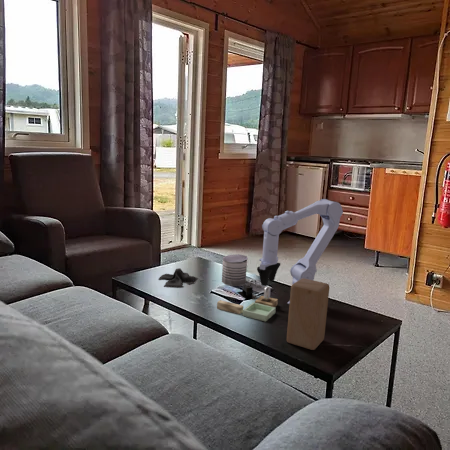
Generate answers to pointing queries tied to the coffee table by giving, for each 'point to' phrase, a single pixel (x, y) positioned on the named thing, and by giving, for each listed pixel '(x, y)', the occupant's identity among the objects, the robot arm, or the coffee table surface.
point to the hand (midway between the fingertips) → (267, 282)
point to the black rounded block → (247, 292)
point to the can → (234, 270)
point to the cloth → (178, 279)
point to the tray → (259, 311)
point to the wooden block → (307, 313)
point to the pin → (266, 294)
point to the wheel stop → (230, 307)
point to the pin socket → (271, 303)
